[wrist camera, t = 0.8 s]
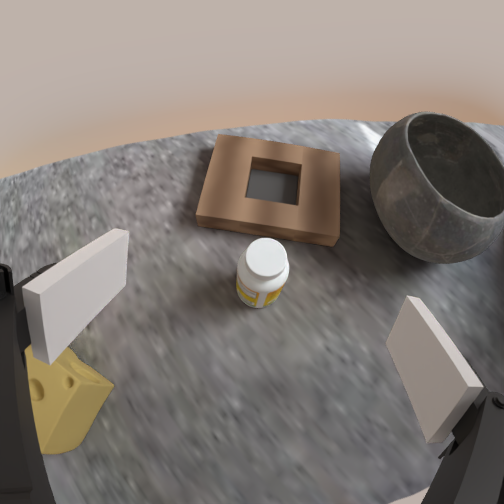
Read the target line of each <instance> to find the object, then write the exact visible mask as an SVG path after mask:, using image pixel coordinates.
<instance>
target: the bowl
mask: <svg viewBox="0 0 504 504" xmlns="http://www.w3.org/2000/svg"><path fill="white" fill-rule="evenodd" d="M370 190H371V195H372V199H373V203H374V205H375V208H376V211H377V213H378V216H379V218H380V220H381V222H382V224H383V226H384V228H385V229H386V231H387V232H388V234H389V235H390V236H391V238H392V239H393V240H394V241H395V242H396V243H397V244H398V245H399V246H400V247H401V248H402V249H403V250H404V251H406V252H407V253H409V254H410V255H412V256H414V257H416V258H418V259H421V260H424V261H428V262H432V263H438V264H450V263H457V262H462V261H465V260H468V259H471V258H473V257H475V256H477V255H479V254H480V253H482V252H483V251H485V250H486V249H487V248H488V247H489V246H490V245H491V244H492V243H493V242H494V241H495V239H496V238H497V237H498V235H499V234H500V232H501V230H502V228H503V226H504V166H503V164H502V162H501V161H500V159H499V157H498V156H497V154H496V153H495V152H494V150H493V149H492V148H491V147H490V145H489V144H488V143H487V142H486V141H485V140H484V139H483V138H482V137H481V136H480V135H479V134H478V133H477V132H476V131H475V130H473V129H472V128H471V127H469V126H468V125H466V124H465V123H463V122H462V121H460V120H458V119H456V118H454V117H451V116H448V115H445V114H440V113H435V112H419V113H415V114H412V115H409V116H406V117H404V118H403V119H401V120H400V121H398V122H397V123H395V124H394V125H393V126H392V127H390V128H389V129H388V130H387V131H386V133H385V134H384V135H383V137H382V138H381V140H380V142H379V144H378V145H377V147H376V149H375V151H374V153H373V156H372V160H371V165H370Z"/></svg>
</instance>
